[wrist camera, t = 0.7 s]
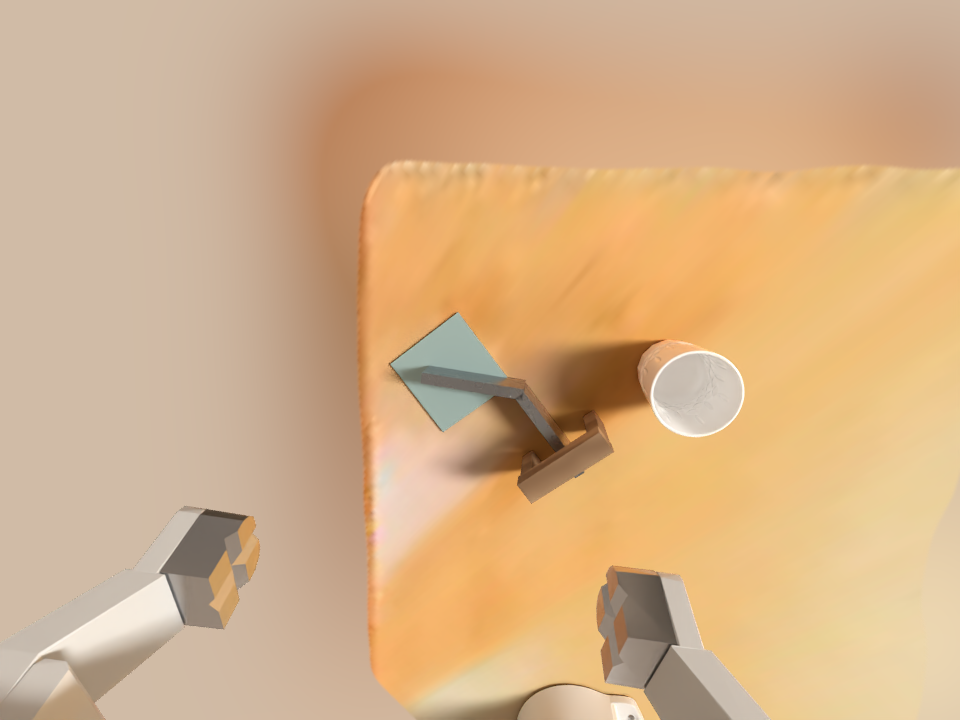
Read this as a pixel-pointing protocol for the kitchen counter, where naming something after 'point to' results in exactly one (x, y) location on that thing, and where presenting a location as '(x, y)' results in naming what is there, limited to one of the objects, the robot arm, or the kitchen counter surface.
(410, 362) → the pad
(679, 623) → the robot arm
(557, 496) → the kitchen counter surface
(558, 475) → the arch
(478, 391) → the rail
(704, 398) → the white cup
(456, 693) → the kitchen counter surface
